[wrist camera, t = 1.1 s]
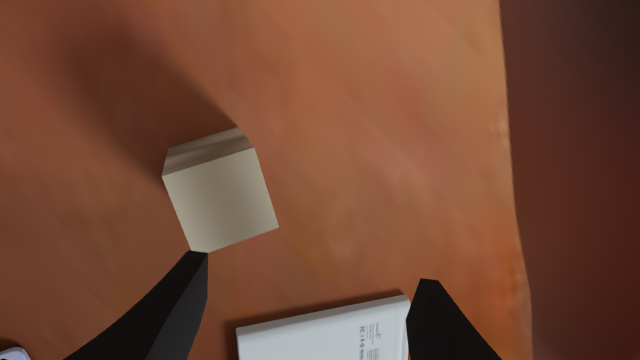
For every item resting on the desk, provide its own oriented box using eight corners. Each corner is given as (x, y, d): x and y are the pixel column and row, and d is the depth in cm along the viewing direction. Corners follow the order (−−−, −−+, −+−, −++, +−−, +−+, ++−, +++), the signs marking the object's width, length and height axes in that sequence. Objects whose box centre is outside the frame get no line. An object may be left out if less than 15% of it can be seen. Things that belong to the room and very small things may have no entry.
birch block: (192, 212, 24) (194, 257, 18) (168, 147, 22) (161, 176, 17) (258, 189, 24) (279, 227, 19) (238, 126, 23) (253, 147, 18)
